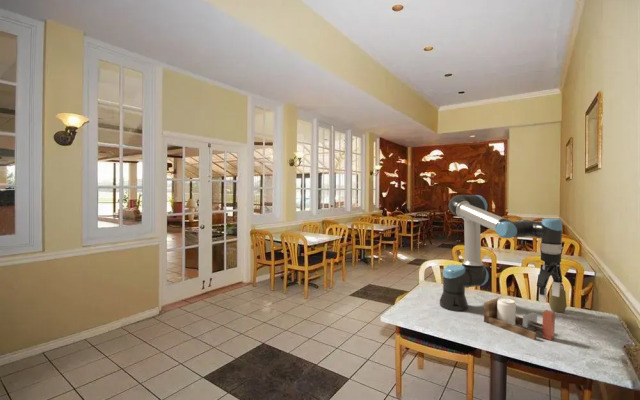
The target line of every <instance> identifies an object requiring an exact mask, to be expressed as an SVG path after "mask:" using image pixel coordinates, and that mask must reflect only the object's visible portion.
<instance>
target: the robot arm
mask: <svg viewBox="0 0 640 400" xmlns="http://www.w3.org/2000/svg"><path fill="white" fill-rule="evenodd" d="M448 209H449V211H450V212H451V213H452V214H453V215H455V216H457V217H458V218H461V219H463V222H464V223H463V227H464V234H463V236H464V260H463V261H462V262H461V264H449V265H446V266H445V267H444V268H443V273H442V276H443V278H442V281H443V283H442V293H441V296H440V298H439V306H440V307H441V308H443V309H445V310H448V311H455V312H463V311H467V310H468V308H469V303H468V301H467V296H466V292H465V291H466V288H474V287H476V288H477V287H482V286H484V285H486V284H487V282H488V280H489V271H488V270H487V268H486V267H485V264H484V263H483V262H482V255H481V253H482V251H481V246H482V245H481V244H482V243H481V226H483V227H485V228H488V229H489V230H491V231H493V232H496V234H497V235H498V237H499V238H502V239H513V238H514V239H515V238H527V237H529V238H530V237H531V238H537V239H541V242H540V251H541V252H540V261H542V262H544V264H540V270H539V274H538V278H537V282H536V287H538V302H540V303H541V302H542V303H545V304H546V303H547V296H548V295H547V294H548V288H547V285H548V282H549V279H550V277H551V278H552V280H553V281H552V284H551V285H552V286H551V287H552V288H551V289H552V295H553V296H557V297H559V295H560V283H561V284H563V275H562V269H561V262H562V254H561V253H562V249H564V247H563V245H562V241H563V240H562V238H563V221H562V219H559V218H549V217H547V218H546V217H545V218H542V219H541V221H535V220H529V219H521V220H519V221H512V220H510V219H508V218H507V219H506V218H504V217H503V216H500V215H497V214H494V213H492V212H490V211H487V210H488V203H487V200H486V199H485V198H484V197H483V196H482V195H479V194H458V195H455V196H452V198H451V199H450V200H449V202H448ZM559 282H560V283H559Z"/></svg>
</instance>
